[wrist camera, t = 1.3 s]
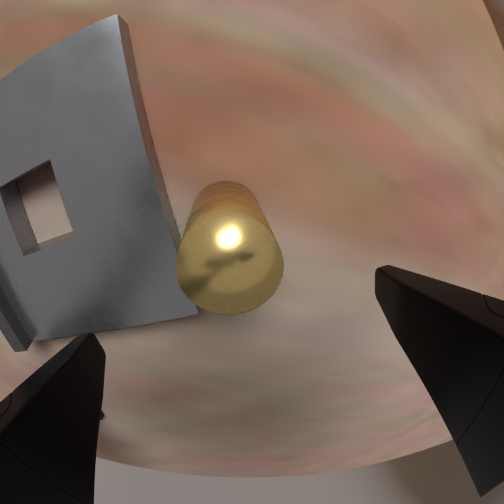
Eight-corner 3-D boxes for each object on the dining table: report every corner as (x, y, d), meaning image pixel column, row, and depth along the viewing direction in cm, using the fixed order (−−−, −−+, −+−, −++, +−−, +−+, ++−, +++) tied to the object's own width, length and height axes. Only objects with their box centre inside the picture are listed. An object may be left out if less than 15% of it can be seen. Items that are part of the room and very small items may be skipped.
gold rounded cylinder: (265, 237, 18) (290, 301, 12) (202, 252, 18) (194, 323, 12) (252, 173, 16) (273, 206, 10) (183, 190, 16) (160, 233, 10)
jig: (200, 296, 19) (197, 326, 16) (30, 328, 19) (15, 351, 16) (127, 24, 12) (109, 6, 9) (-43, 130, 11) (-69, 136, 9)
